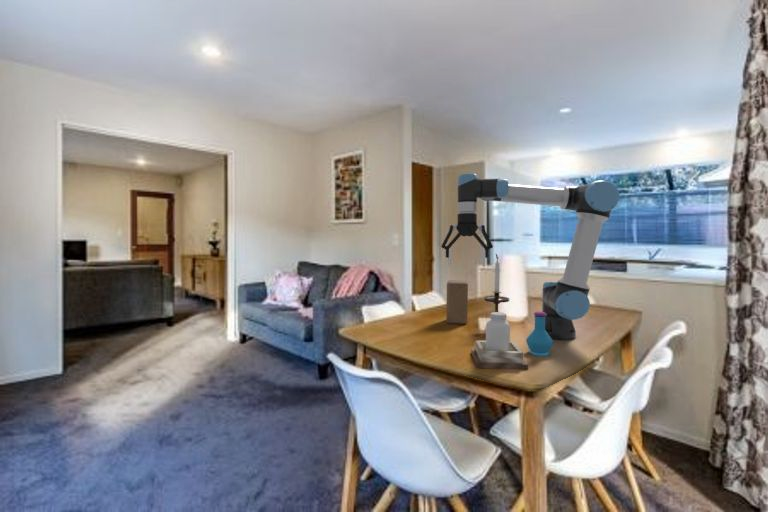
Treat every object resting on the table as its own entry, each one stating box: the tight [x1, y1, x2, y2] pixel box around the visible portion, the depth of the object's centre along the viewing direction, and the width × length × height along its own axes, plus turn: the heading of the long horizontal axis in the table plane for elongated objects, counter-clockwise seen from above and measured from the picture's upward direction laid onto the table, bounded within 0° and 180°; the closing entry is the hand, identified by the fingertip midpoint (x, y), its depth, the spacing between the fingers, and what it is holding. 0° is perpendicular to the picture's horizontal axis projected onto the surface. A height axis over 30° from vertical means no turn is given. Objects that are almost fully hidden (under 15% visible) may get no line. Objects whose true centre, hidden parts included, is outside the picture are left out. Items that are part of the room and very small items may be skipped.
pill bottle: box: [485, 311, 511, 351], centre depth 136 cm, size 8×8×15 cm
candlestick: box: [484, 253, 510, 312], centre depth 178 cm, size 11×11×35 cm
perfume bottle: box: [525, 311, 554, 357], centre depth 144 cm, size 9×9×15 cm
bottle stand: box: [470, 340, 529, 370], centre depth 136 cm, size 16×16×5 cm
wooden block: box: [445, 279, 469, 325], centre depth 194 cm, size 10×10×20 cm
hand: (466, 266), depth 159 cm, fingers open, 13 cm apart
